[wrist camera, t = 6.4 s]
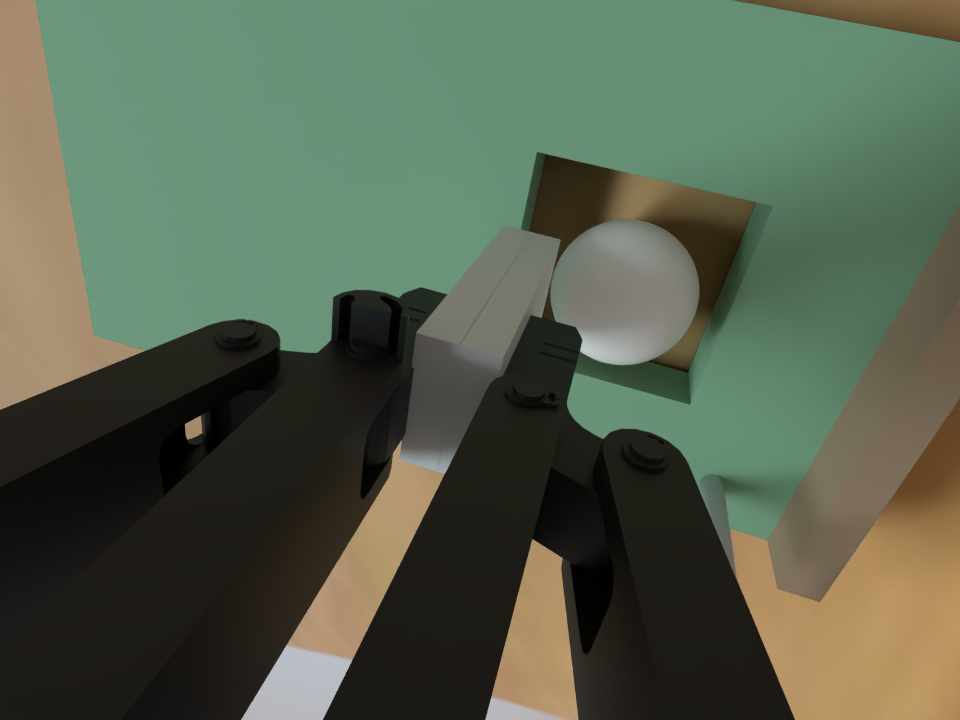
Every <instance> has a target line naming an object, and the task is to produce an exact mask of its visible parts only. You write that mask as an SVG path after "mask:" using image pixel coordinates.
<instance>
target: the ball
mask: <svg viewBox="0 0 960 720" xmlns="http://www.w3.org/2000/svg"><path fill="white" fill-rule="evenodd" d="M698 301H699V279H698V274H697V271H696V267H695V264H694V262H693V260H692V258H691V256H690V254H689V253H688V251H687V250H686V248H685V247H684V246H683V245H682V244H681V243H680V241H679V240H678V239H677V238H676V237H675V236H673V235H672V234H671V233H669V232H668V231H666V230H665V229H663V228H661V227H659V226H657V225H654V224H651V223H648V222H645V221H640V220H632V219H620V220H613V221H609V222H605V223H602V224H599V225H597V226H594V227H592V228H590V229H589V230H587V231H585V232H584V233H582V234H581V235H579V236H578V237H577V238H576V239H575V240H574V241H573V242H572V243H571V244H570V245H569V246H568V247H567V248H566V250H565V251H564V253H563V254H562V256H561V257H560V259H559V261H558V263H557V266H556V268H555V270H554V274H553V277H552V282H551V306H552V311H553V314H554V318H555V320H556V322H559V323H563V324H567V325H570V326H574V327H576V328H577V330H578V332H579V334H580V336H581V338H582V340H583V341H582V345H581V349H580V352H582V353H583V354H585V355H587V356H589V357H590V358H592V359H594V360H597V361H600V362H604V363H608V364H613V365H633V364H639V363H643V362H646V361H649V360H652V359H654V358H656V357H658V356H660V355H662V354H664V353H665V352H667V351H668V350H669V349H671V348H672V347H673V346H674V345H675V344H676V343H677V342H678V341H679V340H680V339H681V338H682V337H683V336H684V334H685V333H686V332H687V330H688V329H689V327H690V325H691V323H692V321H693V319H694V317H695V314H696V310H697V307H698Z"/></svg>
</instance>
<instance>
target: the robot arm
mask: <svg viewBox="0 0 960 720" xmlns="http://www.w3.org/2000/svg"><path fill="white" fill-rule="evenodd" d="M560 241H561V239H557V238H553V237H549V236H545V235H541V234H537V233H533V232H529V231H525V230H521V229H517V228H513V227H509V226H505V225H504V226H503V227H502V229H501V230H500V231H499V232H498V233H497V235H496V236H495V237H494V238H493V239H492V241H491V242H490V243H489V244H488V246H487V247H486V248H485V249H484V250H483V252H482V253H481V254H480V255H479V257H478V258H477V259H476V260H475V261H474V263H473V264H472V265H471V266H470V268H469V269H468V270H467V271H466V272H465V274H464V275H463V276H462V277H461V279H460V280H459V281H458V282H457V283H456V285H455V286H454V287H453V288H452V290H451V291H450V292H449V293H448V294H444V293H441V292H437V291H433V290H430V289H426V288H422V287H420V288H417V289H414V290H411V291H408V292H406V293H403V294H402V295H401V296H400V297H399V298H398V297H396V296H393V295H390V294H388V293H385V292H379V291H373V290H353V291H347V292H342V293H340V294H338V295H336V296H334V297H333V311H332V332H331V341H330V342H328V343H327V344H326V345H325V346H324V347H323V348H322V349H321V350H320V351H319V352H318V353H306V352H296V351H285V350H280V336H279V334H278V332H277V331H276V330H275V329H273V328H272V327H270V326H269V325H266V324H263V323H260V322H257V321H253V320H246V319H236V320H227V321H221V322H218V323H214V324H211V325H208V326H205V327H203V328H201V329H198V330H196V331H193V332H191V333H188V334H186V335H183V336H181V337H178V338H176V339H173V340H171V341H169V342H166V343H164V344H161V345H159V346H156V347H154V348H151V349H149V350H146V351H144V352H142V353H139V354H137V355H134V356H132V357H129V358H127V359H124V360H122V361H119V362H117V363H114V364H112V365H110V366H107V367H105V368H102V369H100V370H97V371H95V372H92V373H90V374H87V375H85V376H83V377H80V378H78V379H75V380H73V381H70V382H68V383H65V384H63V385H60V386H58V387H55V388H53V389H51V390H48V391H46V392H43V393H41V394H38V395H36V396H33V397H31V398H28V399H26V400H24V401H21V402H19V403H16V404H14V405H11V406H9V407H6V408H4V409H1V410H0V720H241V718H242V717H243V716H244V714H245V712H246V711H247V709H248V707H249V705H250V704H251V702H252V701H253V699H254V697H255V696H256V694H257V693H258V691H259V689H260V688H261V686H262V684H263V683H264V681H265V679H266V678H267V676H268V674H269V673H270V671H271V670H272V668H273V666H274V665H275V663H276V661H277V660H278V658H279V656H280V655H281V653H282V652H283V650H284V648H285V647H286V645H287V643H288V642H289V640H290V638H291V637H292V635H293V633H294V632H295V630H296V629H297V627H298V625H299V624H300V622H301V620H302V619H303V617H304V615H305V614H306V612H307V610H308V609H309V607H310V606H311V604H312V602H313V601H314V599H315V597H316V596H317V594H318V592H319V591H320V589H321V588H322V586H323V584H324V583H325V581H326V579H327V578H328V576H329V574H330V573H331V571H332V569H333V568H334V566H335V565H336V563H337V561H338V560H339V558H340V556H341V555H342V553H343V551H344V550H345V548H346V546H347V545H348V543H349V542H350V540H351V538H352V537H353V535H354V533H355V532H356V530H357V528H358V527H359V525H360V523H361V522H362V520H363V519H364V517H365V515H366V514H367V512H368V510H369V509H370V507H371V505H372V504H373V502H374V501H375V499H376V497H377V496H378V494H379V492H380V491H381V489H382V487H383V486H384V484H385V482H386V481H387V479H388V478H389V474H390V471H391V465H392V457H393V452H394V451H395V449H396V448H397V446H398V444H399V443H400V441H401V440H402V445H401V453H400V460H401V461H405V462H408V463H411V464H414V465H417V466H421V467H424V468H427V469H430V470H433V471H437V472H440V473H443V474H445V475H444V477H443V479H442V481H441V483H440V485H439V487H438V489H437V491H436V493H435V495H434V497H433V499H432V501H431V503H430V505H429V507H428V509H427V511H426V513H425V515H424V517H423V519H422V521H421V523H420V525H419V527H418V529H417V531H416V533H415V535H414V537H413V539H412V541H411V543H410V545H409V547H408V549H407V551H406V553H405V555H404V557H403V560H402V562H401V564H400V566H399V568H398V570H397V572H396V574H395V576H394V578H393V580H392V582H391V584H390V586H389V588H388V590H387V592H386V594H385V596H384V598H383V600H382V602H381V604H380V606H379V608H378V610H377V612H376V614H375V616H374V618H373V620H372V622H371V624H370V626H369V628H368V630H367V632H366V634H365V636H364V638H363V640H362V642H361V644H360V646H359V648H358V650H357V652H356V654H355V656H354V658H353V660H352V662H351V664H350V667H349V668H348V670H347V672H346V675H345V676H344V678H343V681H342V682H341V684H340V686H339V689H338V691H337V693H336V695H335V697H334V699H333V701H332V703H331V705H330V707H329V709H328V711H327V713H326V715H325V717H324V719H323V720H485V719H486V715H487V711H488V707H489V703H490V699H491V696H492V692H493V688H494V684H495V680H496V676H497V673H498V669H499V665H500V661H501V657H502V653H503V649H504V646H505V642H506V638H507V634H508V630H509V626H510V622H511V619H512V615H513V611H514V607H515V603H516V599H517V596H518V592H519V588H520V584H521V580H522V576H523V572H524V569H525V565H526V561H527V557H528V553H529V549H530V545H531V542H532V539H534V540H535V541H537V542H538V543H540V544H541V545H543V546H545V547H546V548H548V549H549V550H551V551H553V552H554V553H556V554H557V555H559V556H560V557H562V558H563V560H562V567H561V570H562V579H563V588H564V596H565V605H566V614H567V623H568V631H569V640H570V649H571V657H572V666H573V675H574V683H575V692H576V701H577V709H578V718H579V720H795V719H794V716H793V714H792V711H791V709H790V707H789V704H788V702H787V699H786V697H785V695H784V692H783V690H782V687H781V685H780V683H779V680H778V678H777V675H776V673H775V671H774V668H773V666H772V663H771V661H770V659H769V656H768V654H767V651H766V649H765V647H764V644H763V642H762V639H761V637H760V635H759V632H758V630H757V627H756V625H755V623H754V620H753V618H752V615H751V613H750V610H749V608H748V606H747V603H746V601H745V598H744V596H743V594H742V591H741V589H740V586H739V584H738V582H737V579H736V577H735V574H734V572H733V570H732V567H731V565H730V562H729V560H728V558H727V555H726V553H725V550H724V548H723V546H722V543H721V541H720V538H719V536H718V534H717V531H716V529H715V526H714V524H713V522H712V519H711V517H710V514H709V512H708V510H707V507H706V505H705V502H704V500H703V497H702V495H701V493H700V490H699V488H698V485H697V483H696V481H695V478H694V476H693V473H692V471H691V469H690V466H689V464H688V462H687V460H686V459H685V457H684V456H683V454H682V453H681V451H680V450H679V449H677V448H676V447H675V446H674V445H672V444H671V443H670V442H669V441H667V440H665V439H664V438H662V437H660V436H657V435H656V434H653V433H651V432H646V431H642V430H639V429H619V430H615V431H612V432H610V433H609V434H608V435H607V436H606V437H605V438H604V439H602V438H600V437H598V436H596V435H595V434H593V433H591V432H590V431H588V430H586V429H585V428H583V427H582V426H581V425H580V424H579V423H577V422H576V421H575V419H574V418H573V417H572V415H571V414H570V412H569V410H568V407H567V399H568V395H569V392H570V388H571V384H572V380H573V376H574V372H575V368H576V364H577V360H578V356H579V352H580V349H581V345H582V341H583V340H582V338H581V336H580V334H579V332H578V330H577V328H576V327H574V326H570V325H567V324H563V323H559V322H555V321H552V320H548V319H544V318H542V315H543V310H544V306H545V302H546V298H547V294H548V290H549V286H550V282H551V278H552V274H553V270H554V266H555V261H556V257H557V253H558V249H559V245H560ZM200 415H201V421H202V434H200V435H198V436H197V437H195V438H192V439H188V440H187V438H186V434H185V424H186V423H188V422H189V421H191V420H193V419H195V418H197V417H199V416H200Z"/></svg>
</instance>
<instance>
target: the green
mask: <svg viewBox="0 0 960 720" xmlns="http://www.w3.org/2000/svg"><path fill="white" fill-rule="evenodd" d="M35 2H36V7H37V13H38V19H39V25H40V30H41V36H42V42H43V47H44V53H45V59H46V64H47V70H48V76H49V81H50V87H51V93H52V98H53V104H54V110H55V115H56V121H57V127H58V133H59V138H60V144H61V150H62V155H63V161H64V167H65V172H66V178H67V184H68V189H69V195H70V201H71V206H72V212H73V218H74V223H75V229H76V235H77V240H78V246H79V252H80V258H81V263H82V269H83V275H84V280H85V286H86V292H87V297H88V303H89V309H90V314H91V320H92V326H93V331H94V335H95V336H98V337H102V338H105V339H108V340H112V341H115V342H118V343H121V344H125V345H128V346H131V347H135V348H138V349H141V350H144V351H146V350H149V349H151V348H154V347H156V346H159V345H161V344H164V343H166V342H169V341H171V340H173V339H176V338H178V337H181V336H183V335H186V334H188V333H191V332H193V331H196V330H198V329H201V328H203V327H205V326H208V325H211V324H214V323H218V322H221V321H227V320H236V319H246V320H253V321H257V322H260V323H263V324H266V325H269V326H270V327H272V328H273V329H275V330H276V331H277V332H278V334H279V336H280V350H285V351H296V352H306V353H318V352H319V351H320V350H321V349H322V348H323V347H324V346H325V345H326V344H327V343H328V342H330V341H331V332H332V311H333V297H334V296H336V295H338V294H340V293H342V292H347V291H353V290H373V291H379V292H385V293H388V294H390V295H393V296H396V297H398V298H399V297H400V296H401V295H402V294H403V293H406V292H408V291H411V290H414V289H417V288H420V287H422V288H426V289H430V290H433V291H437V292H441V293H444V294H448V293H449V292H450V291H451V290H452V288H453V287H454V286H455V285H456V283H457V282H458V281H459V280H460V279H461V277H462V276H463V275H464V274H465V272H466V271H467V270H468V269H469V268H470V266H471V265H472V264H473V263H474V261H475V260H476V259H477V258H478V257H479V255H480V254H481V253H482V252H483V250H484V249H485V248H486V247H487V246H488V244H489V243H490V242H491V241H492V239H493V238H494V237H495V236H496V235H497V233H498V232H499V231H500V230H501V229H502V227H503V226H504V225H505V226H509V227H513V228H517V229H521V230H525V231H530V226H531V221H532V217H533V212H534V207H535V203H536V198H537V194H538V189H539V184H540V180H541V175H542V170H543V166H544V161H545V157H546V154H548V155H552V156H557V157H561V158H565V159H570V160H574V161H578V162H583V163H587V164H592V165H596V166H600V167H605V168H609V169H613V170H618V171H622V172H626V173H631V174H635V175H640V176H644V177H648V178H653V179H657V180H661V181H666V182H670V183H675V184H679V185H683V186H688V187H692V188H696V189H701V190H705V191H709V192H714V193H718V194H723V195H727V196H731V197H736V198H740V199H744V200H749V201H753V202H756V205H755V207H754V210H753V212H752V215H751V217H750V220H749V222H748V225H747V227H746V230H745V232H744V235H743V237H742V240H741V242H740V245H739V247H738V250H737V252H736V255H735V257H734V260H733V262H732V264H731V267H730V269H729V272H728V274H727V277H726V279H725V282H724V284H723V287H722V289H721V292H720V294H719V297H718V299H717V302H716V304H715V307H714V309H713V312H712V314H711V317H710V319H709V322H708V324H707V327H706V329H705V332H704V334H703V337H702V339H701V341H700V344H699V346H698V349H697V351H696V354H695V356H694V359H693V361H692V364H691V366H690V369H689V371H688V373H687V372H684V371H680V370H676V369H673V368H669V367H665V366H662V365H658V364H654V363H650V362H647V361H646V362H643V363H639V364H633V365H613V364H608V363H604V362H600V361H597V360H594V359H592V358H590V357H589V356H587V355H585V354H583V353H582V352H579V356H578V360H577V364H576V368H575V372H574V376H573V380H572V384H571V388H570V392H569V395H568V399H567V407H568V410H569V412H570V414H571V415H572V417H573V418H574V419H575V421H576V422H577V423H579V424H580V425H581V426H582V427H583V428H585V429H586V430H588V431H590V432H591V433H593V434H595V435H596V436H598V437H600V438H602V439H604V438H605V437H606V436H607V435H608V434H609V433H610V432H612V431H615V430H619V429H639V430H642V431H646V432H651V433H653V434H656V435H657V436H660V437H662V438H664V439H665V440H667V441H669V442H670V443H671V444H672V445H674V446H675V447H676V448H677V449H679V450H680V451H681V453H682V454H683V456H684V457H685V459H686V460H687V462H688V464H689V466H690V469H691V471H692V473H693V476H694V478H695V481H696V483H697V485H698V488H699V490H700V493H701V495H702V497H703V500H704V502H705V505H706V507H707V510H708V512H709V514H710V517H711V519H712V522H713V524H714V526H715V529H716V531H717V534H718V536H719V538H720V541H721V543H722V546H723V548H724V550H725V553H726V555H727V558H728V560H729V562H730V565H731V567H732V570H733V572H734V574H735V577H736V570H735V563H734V556H733V549H732V541H731V534H730V529H733V530H736V531H739V532H743V533H746V534H749V535H753V536H756V537H759V538H762V539H766V540H767V541H768V546H769V551H770V555H771V560H772V565H773V570H774V575H775V579H776V584H777V589H780V590H783V591H786V592H789V593H793V594H796V595H799V596H802V597H805V598H809V599H812V600H815V601H818V602H820V601H821V600H822V598H823V597H824V596H825V594H826V593H827V591H828V590H829V588H830V587H831V585H832V584H833V582H834V581H835V580H836V578H837V577H838V575H839V574H840V572H841V571H842V569H843V568H844V566H845V565H846V564H847V562H848V561H849V559H850V558H851V556H852V555H853V553H854V552H855V550H856V549H857V548H858V546H859V545H860V543H861V542H862V540H863V539H864V537H865V536H866V535H867V533H868V532H869V530H870V529H871V527H872V526H873V524H874V523H875V521H876V520H877V519H878V517H879V516H880V514H881V513H882V511H883V510H884V508H885V507H886V505H887V504H888V503H889V501H890V500H891V498H892V497H893V495H894V494H895V492H896V491H897V489H898V488H899V487H900V485H901V484H902V482H903V481H904V479H905V478H906V476H907V475H908V473H909V472H910V471H911V469H912V468H913V466H914V465H915V463H916V462H917V460H918V459H919V457H920V456H921V455H922V453H923V452H924V450H925V449H926V447H927V446H928V444H929V443H930V441H931V440H932V439H933V437H934V436H935V434H936V433H937V431H938V430H939V428H940V427H941V425H942V424H943V423H944V421H945V420H946V418H947V417H948V415H949V414H950V412H951V411H952V410H953V408H954V407H955V405H956V404H957V402H958V401H959V399H960V42H956V41H950V40H945V39H939V38H934V37H929V36H923V35H918V34H912V33H907V32H902V31H896V30H891V29H885V28H880V27H874V26H869V25H864V24H858V23H853V22H847V21H842V20H837V19H831V18H826V17H820V16H815V15H809V14H804V13H799V12H793V11H788V10H782V9H777V8H772V7H766V6H761V5H755V4H750V3H744V2H739V1H734V0H35ZM736 579H737V578H736Z"/></svg>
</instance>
